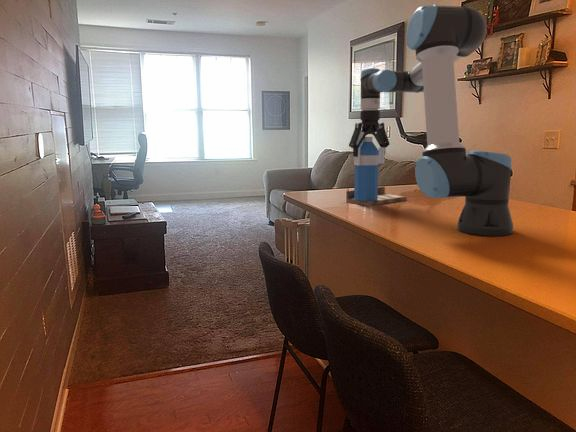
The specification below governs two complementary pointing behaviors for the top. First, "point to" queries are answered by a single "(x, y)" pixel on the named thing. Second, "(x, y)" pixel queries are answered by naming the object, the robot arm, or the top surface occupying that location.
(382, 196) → the ledge board
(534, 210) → the top surface
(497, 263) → the top surface
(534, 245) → the top surface
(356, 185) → the water bottle
